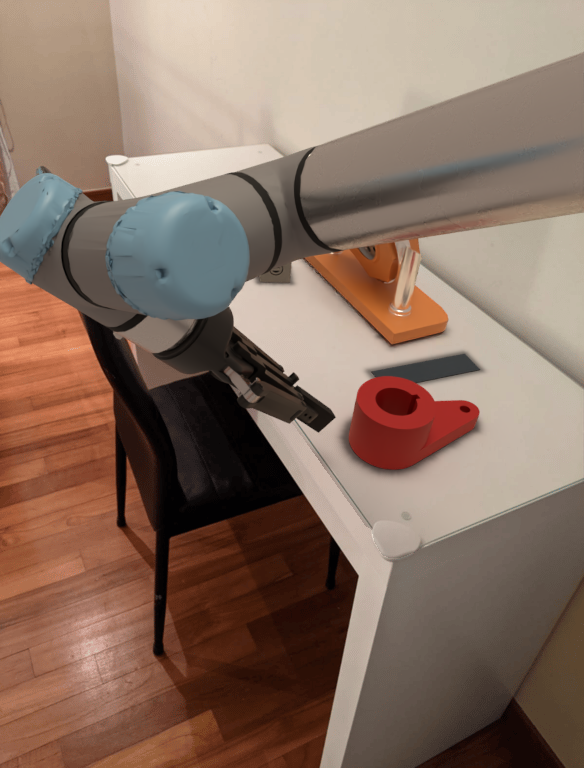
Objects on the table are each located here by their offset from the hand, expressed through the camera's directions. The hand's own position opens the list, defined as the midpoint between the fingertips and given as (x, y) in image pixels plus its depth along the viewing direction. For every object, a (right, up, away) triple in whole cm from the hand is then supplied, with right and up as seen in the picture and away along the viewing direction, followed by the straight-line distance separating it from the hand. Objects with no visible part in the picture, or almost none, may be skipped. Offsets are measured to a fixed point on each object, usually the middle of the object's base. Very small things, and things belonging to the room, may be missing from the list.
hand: (324, 420), depth 69 cm
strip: (+16, +6, +19) cm, 25 cm away
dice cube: (-7, +23, +36) cm, 44 cm away
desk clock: (+9, +20, +35) cm, 41 cm away
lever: (+12, -2, +8) cm, 15 cm away
